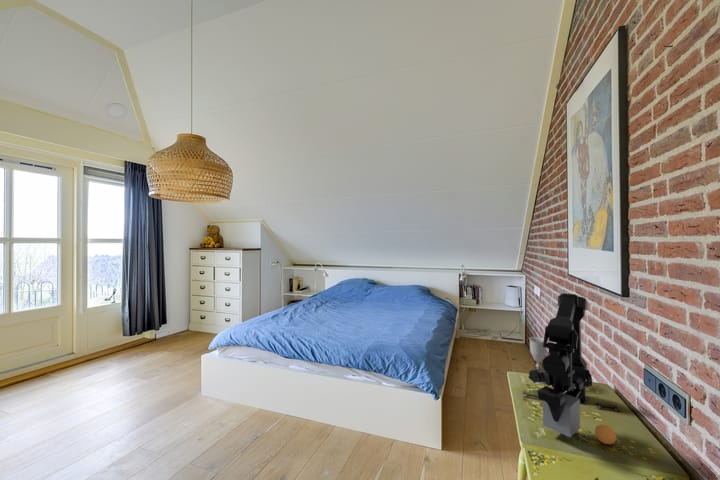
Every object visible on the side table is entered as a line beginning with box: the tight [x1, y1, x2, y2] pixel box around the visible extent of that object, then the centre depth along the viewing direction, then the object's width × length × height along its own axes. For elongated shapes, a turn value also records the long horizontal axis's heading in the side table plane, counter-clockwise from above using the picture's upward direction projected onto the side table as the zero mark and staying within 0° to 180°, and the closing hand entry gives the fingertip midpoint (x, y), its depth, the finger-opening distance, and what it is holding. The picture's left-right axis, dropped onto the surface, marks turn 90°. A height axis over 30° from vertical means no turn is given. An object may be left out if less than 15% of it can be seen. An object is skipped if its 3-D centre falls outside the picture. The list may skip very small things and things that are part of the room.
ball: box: [594, 424, 617, 445], centre depth 92 cm, size 5×5×5 cm
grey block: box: [542, 394, 581, 438], centre depth 95 cm, size 7×7×9 cm
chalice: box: [528, 336, 547, 386], centre depth 132 cm, size 7×7×18 cm
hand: (561, 416), depth 95 cm, fingers closed on grey block, 7 cm apart
